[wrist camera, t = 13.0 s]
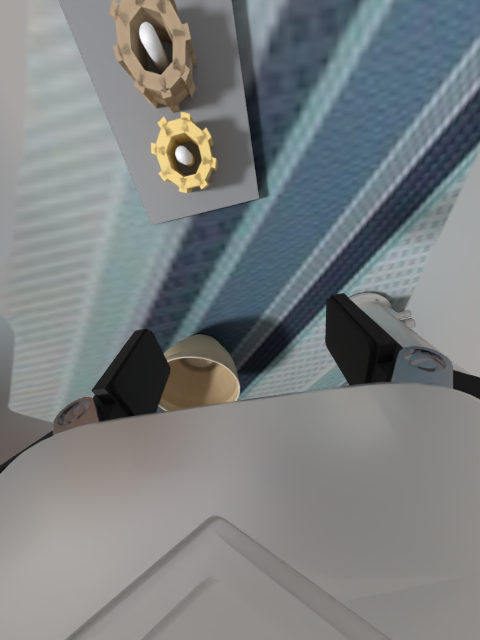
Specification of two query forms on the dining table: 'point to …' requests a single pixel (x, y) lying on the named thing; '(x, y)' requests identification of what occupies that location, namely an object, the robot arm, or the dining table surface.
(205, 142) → the ochre gear
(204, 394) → the planter bowl
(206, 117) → the gear board
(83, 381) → the dining table surface
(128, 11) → the beech gear
